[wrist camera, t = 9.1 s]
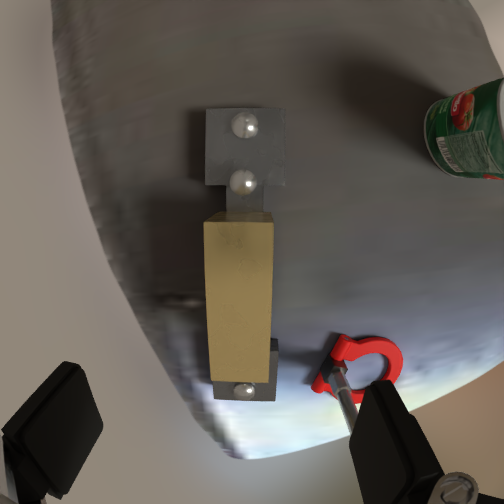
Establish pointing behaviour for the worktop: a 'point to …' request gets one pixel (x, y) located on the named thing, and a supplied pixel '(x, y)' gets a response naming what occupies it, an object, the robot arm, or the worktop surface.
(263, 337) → the tan cork brick
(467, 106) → the canned tomato
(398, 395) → the robot arm
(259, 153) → the grey plate with studs
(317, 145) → the worktop surface
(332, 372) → the tow hook
